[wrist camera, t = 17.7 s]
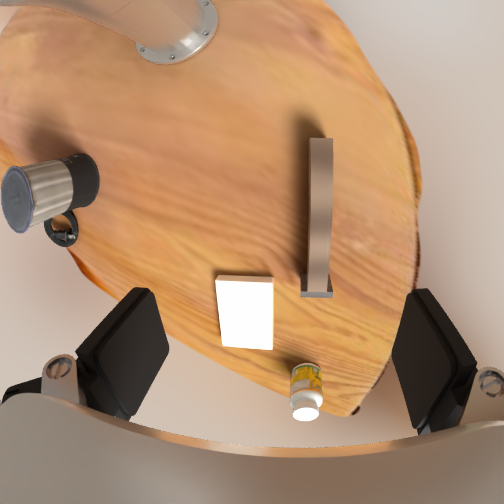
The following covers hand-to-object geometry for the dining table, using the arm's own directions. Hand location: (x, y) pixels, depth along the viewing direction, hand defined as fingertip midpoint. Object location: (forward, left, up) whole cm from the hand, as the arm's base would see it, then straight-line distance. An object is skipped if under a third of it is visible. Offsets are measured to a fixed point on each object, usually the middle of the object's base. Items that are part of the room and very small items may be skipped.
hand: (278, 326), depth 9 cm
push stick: (+2, +3, -27) cm, 27 cm away
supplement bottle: (+30, +3, -27) cm, 41 cm away
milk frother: (-1, -36, -27) cm, 45 cm away
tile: (+11, -7, -26) cm, 29 cm away
